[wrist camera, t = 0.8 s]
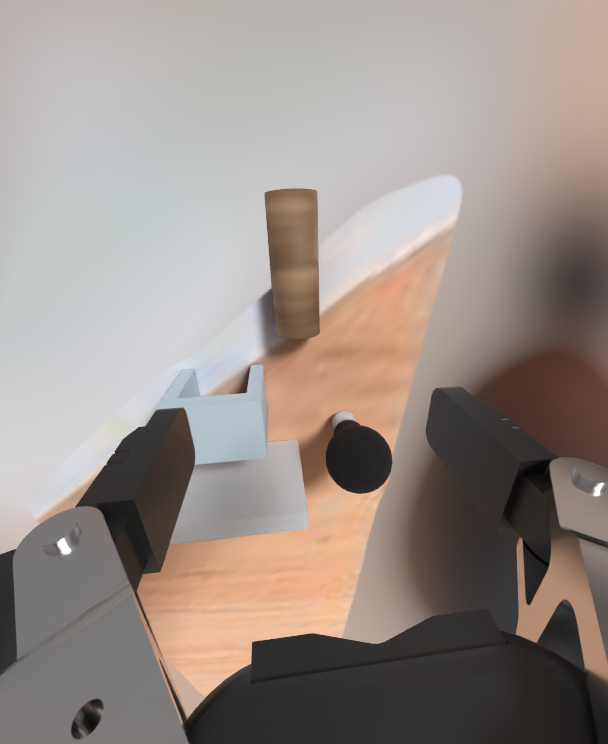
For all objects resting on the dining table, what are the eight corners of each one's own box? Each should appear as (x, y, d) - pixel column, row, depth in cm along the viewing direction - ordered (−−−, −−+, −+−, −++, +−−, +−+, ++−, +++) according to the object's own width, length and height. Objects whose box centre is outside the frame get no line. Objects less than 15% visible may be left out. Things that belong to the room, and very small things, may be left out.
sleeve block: (181, 370, 29) (154, 409, 22) (263, 364, 30) (260, 400, 23) (192, 418, 31) (170, 467, 25) (267, 411, 32) (266, 457, 25)
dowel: (273, 197, 25) (257, 191, 21) (320, 194, 24) (312, 187, 21) (282, 326, 29) (269, 338, 26) (322, 327, 29) (315, 340, 25)
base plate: (170, 451, 33) (132, 531, 24) (297, 439, 34) (307, 511, 25) (174, 465, 34) (139, 548, 25) (298, 453, 35) (308, 528, 26)
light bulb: (322, 444, 35) (340, 516, 26) (309, 402, 32) (324, 465, 23) (371, 430, 35) (407, 497, 25) (361, 386, 32) (398, 444, 23)
